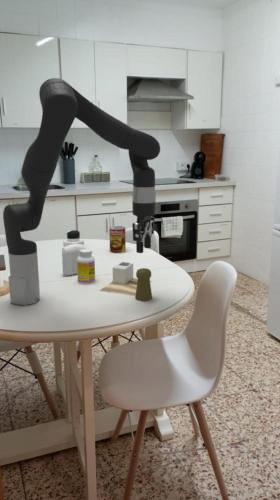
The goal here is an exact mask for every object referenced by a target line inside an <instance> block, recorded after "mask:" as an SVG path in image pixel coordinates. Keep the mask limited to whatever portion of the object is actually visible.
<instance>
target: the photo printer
mask: <svg viewBox="0 0 280 500" xmlns="http://www.w3.org/2000/svg"><path fill="white" fill-rule="evenodd" d="M82 249H87V247H86V245H85V244H84V245H81V244H72V245H68V246H66V247H64V248H62V249H61V257H62V260H61V261H62V275H63V276H65V277H67V276H74V275H78V269H77V259H78V257H79V256H80V250H82Z"/></svg>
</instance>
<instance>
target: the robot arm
mask: <svg viewBox="0 0 280 500" xmlns="http://www.w3.org/2000/svg"><path fill="white" fill-rule="evenodd" d="M38 92H39V93H38V94H39V101H40V105H41V110H42V114H41V122H40V126H39V130H38V131H39V132H38V134H37V136H36V139H34V141H33V142H32V143H31V144H30V146H29V147H28V149H27V151H26V153H25V156H24V159H23V163H22V167H21V176H22V180H23V182H24V184H25V186H26V188H27V190H28V192H29V195H28V200H27V201H26V202H23V203H13V204H12V203H11V204H7V205H6V206H4V208H3V212H2V220H3V226H4V233H5V240H6V241H5V242H6V246H7V252H8V262H9V263H8V265H9V276H8V288H9V299H10V303H11V304H13V305H19V306H24V307H25V306H28V305H32V304H35V303H37V302H39V301H40V299H41V293H40V291H41V290H40V275H39V262H38V260H39V259H38V258H39V257H38V246H37V243H36V242H35V241H33V240H28V239H24V238H23V237H22V235H21V234H22V232H23V233H24V232H29V231H30V232H31V231H34V230H37V228H38V227H39V226H40V223H41V220H42V215H43V213H44V212H43V211H44V206H45V203H46V198H47V194H48V191H49V189H50V185H51V182H52V180H53V177H54V174H55V172H56V169H57V165H58V162H59V158H60V157H61V153H62V150H63V145H64V143H65V140H66V138H67V135H69V132H70V130H71V127H72V125H73V123H74V122H75V119H77V120H78V121H80V122H82V123H83V124H84V125H86V126H87V127H88V128H89V129H90V130H91V131H93V132H94V134H96V135H97V136H99V137H100V138H101V139H102V140H104V141H106V142H107V143H108V144H109V143H110V144H111V145H113V146H115V147H117V148H119V149H121V150H127V151H128V157H129V162H130V166H131V170H132V185H133V186H132V195H131V196H132V198H131V199H132V215H133V216H136V222H133V223H132V227H131V228H132V241H133V242H135V243H136V245H135V246H136V249H135V250H136V253H137V254H143V253H144V249H151V248H152V237H153V235H154V234H155V222H156V221H155V219H156V218H155V215H156V210H157V209H156V203H157V202H156V201H157V200H156V198H157V197H156V196H157V195H156V172H155V169H154V168H152V167H150V166H149V162H148V161H151V160H152V161H153V160H155V159H156V158H157V157H158V156H159V155H160V152H161V145H160V142H159V141H158V139H157V138H156V137H154V136H153V135H151V134H149V133H147V132H144V131H140V130H138V129H135V128H133V127H131V126H129V125H128V124H127V123H125V122H123V121H121V120H119V119H117V118H116V117H114V116H113V115H111V114H109V112H108V113H107V111H105V110H103V109H101V108H100V107H98V106H97V105H96V104H94V103H93V102H91V101H90V100H89V99H87V98H86V97H85V96H83V94H81V93H80V92H79V91H78V90H76V88H75V87H73V86H72V85H70V83H68V82H67V81H66V80H64V79H61V78H58V77H53V78H52V77H51V78H49V79H46V80H45V81H44V82H43V83H41V85H40V88H39V91H38Z"/></svg>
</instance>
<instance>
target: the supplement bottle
mask: <svg viewBox="0 0 280 500" xmlns="http://www.w3.org/2000/svg"><path fill="white" fill-rule="evenodd" d="M92 253H93V250H92V249H89V248H86V249H82V250H80V256H79V257H78V259H77V269H78V274H77V282H78V284H82V285H90V284H93V283H95V282H96V263H95V261H96V259H95V257H94V256H93V255H92Z"/></svg>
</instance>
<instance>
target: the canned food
mask: <svg viewBox="0 0 280 500" xmlns="http://www.w3.org/2000/svg"><path fill="white" fill-rule="evenodd" d="M109 252H110V253H111V254H123V253H125V252H127V251H126V227H125V226H122V225H113V226H110V227H109Z"/></svg>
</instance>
